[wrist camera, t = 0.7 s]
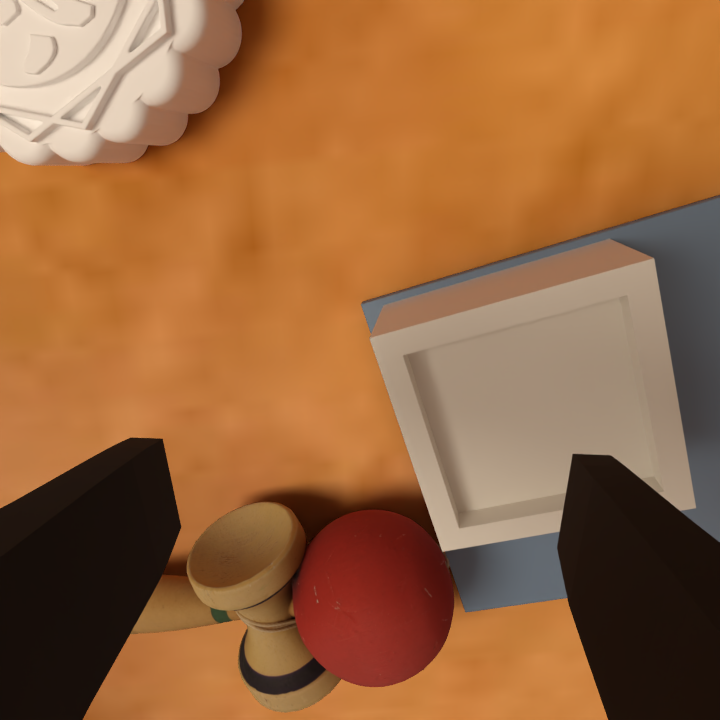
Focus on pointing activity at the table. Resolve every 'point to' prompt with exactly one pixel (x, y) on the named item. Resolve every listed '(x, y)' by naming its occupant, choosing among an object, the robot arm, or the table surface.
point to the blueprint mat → (691, 373)
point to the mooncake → (108, 74)
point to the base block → (533, 389)
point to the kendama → (313, 600)
